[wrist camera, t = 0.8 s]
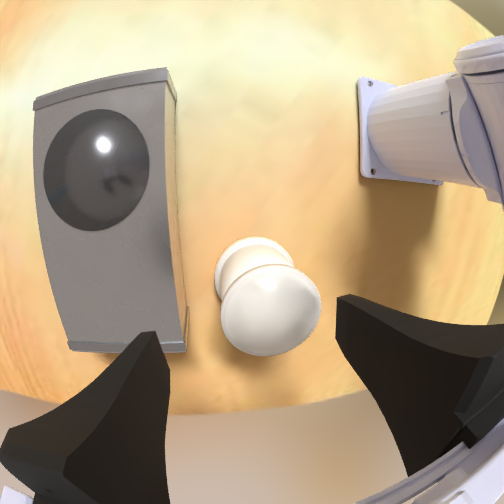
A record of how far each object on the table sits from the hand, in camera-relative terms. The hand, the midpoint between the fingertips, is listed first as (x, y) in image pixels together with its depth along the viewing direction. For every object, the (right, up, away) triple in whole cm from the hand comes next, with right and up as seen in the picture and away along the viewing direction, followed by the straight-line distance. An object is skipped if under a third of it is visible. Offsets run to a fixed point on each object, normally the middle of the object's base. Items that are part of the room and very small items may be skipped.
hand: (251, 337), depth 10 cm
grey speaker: (-9, +6, +7) cm, 12 cm away
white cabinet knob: (0, +2, +10) cm, 10 cm away
